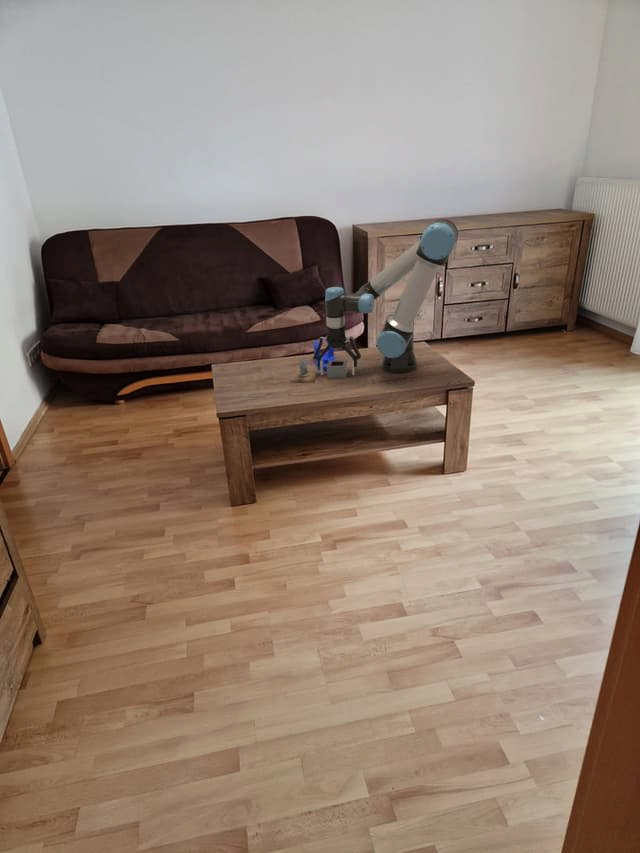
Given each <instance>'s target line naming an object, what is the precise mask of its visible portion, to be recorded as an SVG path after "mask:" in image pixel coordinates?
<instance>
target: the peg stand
mask: <svg viewBox="0 0 640 853" xmlns="http://www.w3.org/2000/svg"><path fill="white" fill-rule="evenodd" d="M298 361H299V370H295V371H293V373H292V376H291V377H290V384H291V383H292V384H293V383H295V384H297V383H298V384H299V383H300V384H303V383H305V384H306V383H307V384H313V383H315V381H316V379H317V377H318V371H317V370H308V363H307V358H300V359H299V360H298Z"/></svg>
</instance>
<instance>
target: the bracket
mask: <svg viewBox="0 0 640 853" xmlns="http://www.w3.org/2000/svg"><path fill="white" fill-rule="evenodd" d="M326 342H327V341H326ZM319 343H320V340H319V341H313V353H314V354H315V352H316V350H317V348H318V345H319ZM327 345H328V342H327V343H326V346H327ZM334 350H335V348H332V347H330V349H329V350H328V351H327V352H326V353H325V355H324V356H323V357H322V358H321V359H323V372H327V365H328V362H329V360H335V351H334ZM320 354H321V349H320V350H319V353H318V355H317V356H319V355H320ZM314 361H315V364H316V369H317V370H318V371H320V372H321V367H318V360H317V359H314Z"/></svg>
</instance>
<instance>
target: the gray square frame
mask: <svg viewBox="0 0 640 853" xmlns="http://www.w3.org/2000/svg"><path fill="white" fill-rule="evenodd" d="M326 365H327V371H326V375H327V379H347V377H348V372H349V360H347V359H346V360H345V359H343V360H342V359H338V360H337V359H336V360H329V362H328V364H326Z"/></svg>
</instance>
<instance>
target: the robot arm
mask: <svg viewBox="0 0 640 853" xmlns="http://www.w3.org/2000/svg"><path fill="white" fill-rule="evenodd" d="M458 238H459V230H458V228H457V225H456V223H454V222H453V221H452V220H449V219H446V218H441V219H437V220H435V221H434V222H432V223H431V224H430V225H429V226H427V228H425V229H424V231H423V233H422V234H421V235H420V236H419V237H418V240H417V242H416V243H415V244H413V245H412V246H410V248H408V249H407V250H405V251H404V252H403V253H402V254H401V255H400V256H398V257H397V258H396V259H394V261H392V262H391V263H390V264H388V265H387V266H386V267H385V268H383V269H382V270H381V271H380V272H379V273H377V274H376V275H375V276H374V277H372V278H371V279H370V280H369V281H368V282H366V283H365V284H363V285H362V286H361V287H360V288H359V289H358V290H357V291H356V292H355V293H347V292H345V290H344V288H343V287H341V286H332V287H328V288H327V289H325V293H324V294H325V298H324V301H325V315H326V316H325V319H326V321H325V322H326V326H327V327H326V337H324V336H320V337H319V345H318V348H317V350H316V352H315V354H314V355H313V357H312V359H313V360H315V359H317V360H318V367H321V371H320V376H324V371H323V359H321V358H322V357H323V356H324V355H325V353H328V350H329V349H330V347H332V348H334V349H336V348H337V349H341V348H342V349H343V350H344V351H345V352H346V353H347V354H348V355H349V357H351V368H352V370H351V371H352V372H351V373H352V376H355V372H356V371H355V369H356V368H357V366H358V360H360V359H361V358H362V354H361V352H360V351H359V349H358V347H357V345H356V343H355V342H354V336H353V335H350V336H348V337H347V336H346V326H345V324H346V320H345V319H346V318H345V313H351V314H352V313H354V314H371V313H373V311H374V309H375V300H377V299H378V298H379V297H381V296H382V295H383V294H384V293H386V292H387V291H388V290H390V289H391V288H392V287H393V286H395V285H396V284H397V283H398V282H400V281H401V280H402V279H404V278H405V277H406V276H407V275H409V274H410V273H411V274H410V276H409V278H408V281H407V282H406V285H405V287H404V289H403V292H402V293H401V295H400V298H399V300H398V302H397V305H396V308H395V309H394V312H393V314H392V313H391V314H388V315H386V317H385V323H384V325H383V328H382V330H381V332H380V334H378V336H377V339H376V347H377V350H378V351H379V353H380V354H381V355H382V356H383V358H382V361H381V368H382V370H384V371H386V372H387V373H392V374H393V373H394V374H395V373H396V374H403V373H410V372H413V371H414V370H416V369H417V368H418V361H417V358H416V357H417V356H416V354H415V352H414V339H415V338H414V331H415V320H416V319H417V316H418V314H419V313H420V310H421V308H422V306H423V303H424V301H425V299H426V297H427V296H428V295H427V294H428V292H429V290H430V288H431V287H432V284H433V282H434V279H435V277H436V275H437V273H438V271H439V269H441V268H443V267H445V266H446V264H447V262H448V259H449V257H450V255H451V253H452V251H453V249H454V247H455V245H456V243H457V241H458ZM325 342H328V345H327V344H326V347H325V348H324V349H323V350H322V351H321V348H322V346H323V343H325ZM346 342H348V343H349V344H350V346H351V348H352V349H353V351H352V349H350V347H349V346H348V345H347V343H346ZM319 350H320V351H321V352H320V355H319V356H317V355H318V353H319Z"/></svg>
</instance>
